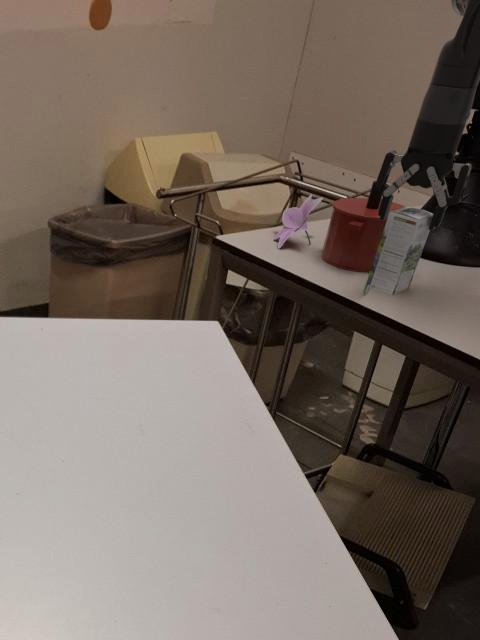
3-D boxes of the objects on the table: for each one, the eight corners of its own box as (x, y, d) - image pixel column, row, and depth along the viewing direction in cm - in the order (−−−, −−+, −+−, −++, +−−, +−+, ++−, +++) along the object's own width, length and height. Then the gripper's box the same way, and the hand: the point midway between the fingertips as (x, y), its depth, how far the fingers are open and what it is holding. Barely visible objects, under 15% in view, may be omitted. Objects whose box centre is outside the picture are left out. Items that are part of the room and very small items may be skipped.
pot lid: (419, 212, 166) (429, 181, 162) (397, 228, 156) (408, 196, 153) (345, 199, 172) (353, 169, 168) (320, 214, 163) (328, 182, 159)
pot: (404, 256, 173) (420, 207, 167) (376, 280, 161) (393, 227, 155) (338, 243, 179) (352, 195, 173) (306, 265, 167) (320, 213, 161)
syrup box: (378, 288, 157) (405, 204, 148) (407, 297, 154) (436, 212, 144) (362, 294, 155) (388, 209, 145) (390, 303, 151) (419, 217, 142)
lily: (281, 237, 185) (270, 197, 178) (336, 223, 178) (328, 181, 171) (270, 270, 179) (259, 229, 172) (327, 257, 172) (318, 214, 166)
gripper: (391, 114, 136) (360, 220, 147) (482, 127, 130) (443, 237, 141) (405, 108, 141) (373, 212, 152) (493, 120, 135) (454, 227, 146)
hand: (407, 224), depth 146 cm, fingers open, 8 cm apart
